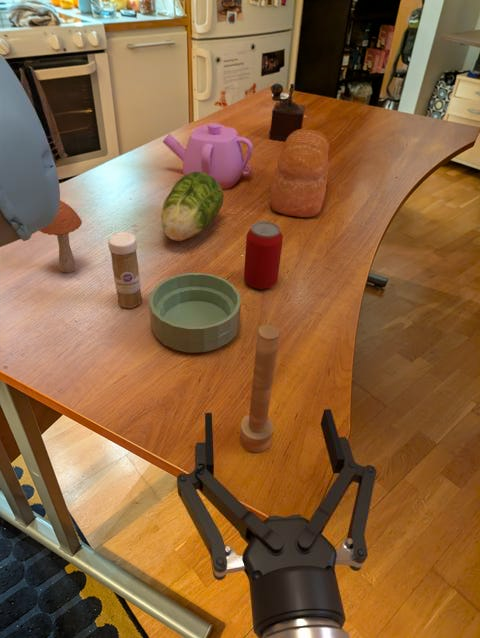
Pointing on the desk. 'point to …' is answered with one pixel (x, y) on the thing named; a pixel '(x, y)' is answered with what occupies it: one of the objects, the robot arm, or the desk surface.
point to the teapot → (213, 153)
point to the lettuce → (191, 206)
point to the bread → (301, 174)
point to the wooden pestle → (261, 392)
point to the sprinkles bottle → (125, 269)
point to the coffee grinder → (285, 114)
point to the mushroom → (64, 234)
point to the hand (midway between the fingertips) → (267, 418)
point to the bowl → (195, 312)
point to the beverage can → (262, 255)
